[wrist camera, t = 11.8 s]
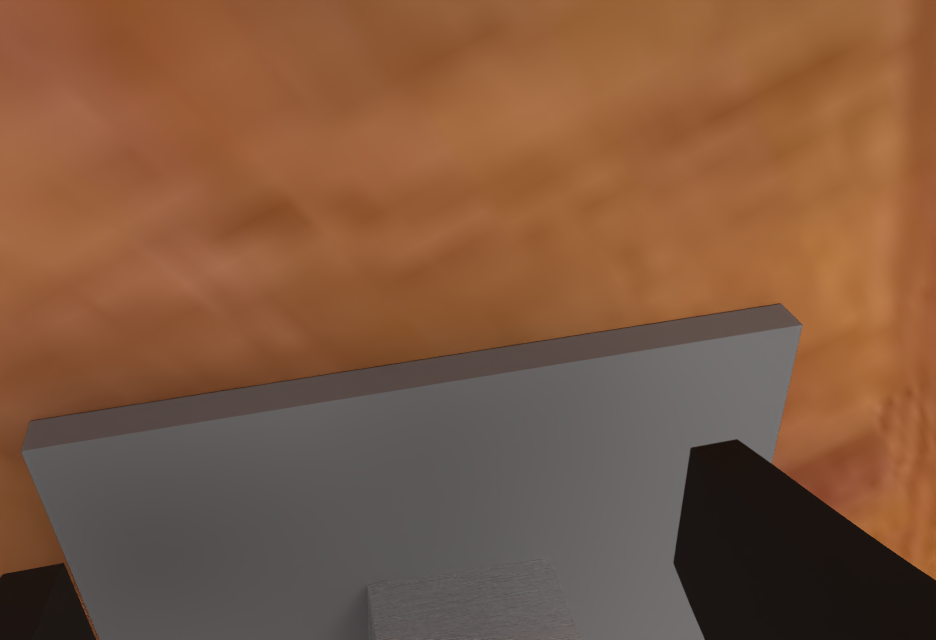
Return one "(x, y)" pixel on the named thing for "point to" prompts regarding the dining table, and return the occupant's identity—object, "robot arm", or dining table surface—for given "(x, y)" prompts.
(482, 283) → the dining table surface
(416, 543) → the block
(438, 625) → the square socket
